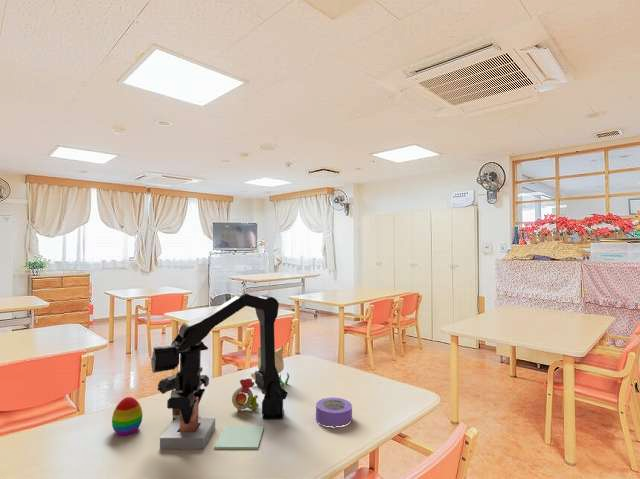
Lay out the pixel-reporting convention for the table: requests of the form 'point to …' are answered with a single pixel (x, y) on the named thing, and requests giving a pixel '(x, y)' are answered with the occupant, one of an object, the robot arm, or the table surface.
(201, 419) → the pocket block
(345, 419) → the tape roll
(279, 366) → the kitten
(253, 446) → the board
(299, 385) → the table surface
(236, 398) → the bird rattle
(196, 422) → the peg
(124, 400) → the decorative egg
